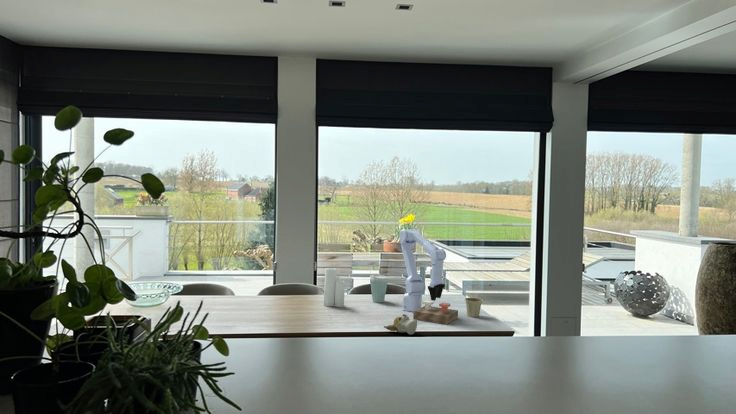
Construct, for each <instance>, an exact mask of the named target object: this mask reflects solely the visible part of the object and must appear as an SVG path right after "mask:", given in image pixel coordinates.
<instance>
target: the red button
mask: <svg viewBox="0 0 736 414" xmlns="http://www.w3.org/2000/svg"><path fill="white" fill-rule="evenodd" d="M438 307H439V308H442V310H441V312H443V313H447V312H448V309H449V307H451V303H448V302H441V303H439V304H438Z"/></svg>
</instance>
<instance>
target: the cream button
mask: <svg viewBox="0 0 736 414" xmlns="http://www.w3.org/2000/svg"><path fill="white" fill-rule="evenodd" d="M433 304H435V302H434V301H433V300H428V299H426V300H423V301H422V304H421V305H424V306H425V310H431V306H432V305H433Z"/></svg>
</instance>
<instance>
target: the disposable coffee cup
mask: <svg viewBox="0 0 736 414" xmlns="http://www.w3.org/2000/svg"><path fill="white" fill-rule="evenodd" d="M370 275H371V276H370V277H369V281H370V288H371V300H372V302H373V303H377V304H378V303H384V301H385V299H386V293H387V286H388V282H389V277H387V275H381V274H370Z"/></svg>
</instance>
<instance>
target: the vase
mask: <svg viewBox="0 0 736 414" xmlns="http://www.w3.org/2000/svg"><path fill="white" fill-rule="evenodd" d="M337 274H338V269H337V268H335V267H326V268H324V287H323V289H324V290H323V306H325V307H337V308H343V307H345V294H346V293H345V292H346V291H345V289H346V287H345V286H346V281H345V280H342V277H341V276H339V275H337Z"/></svg>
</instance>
